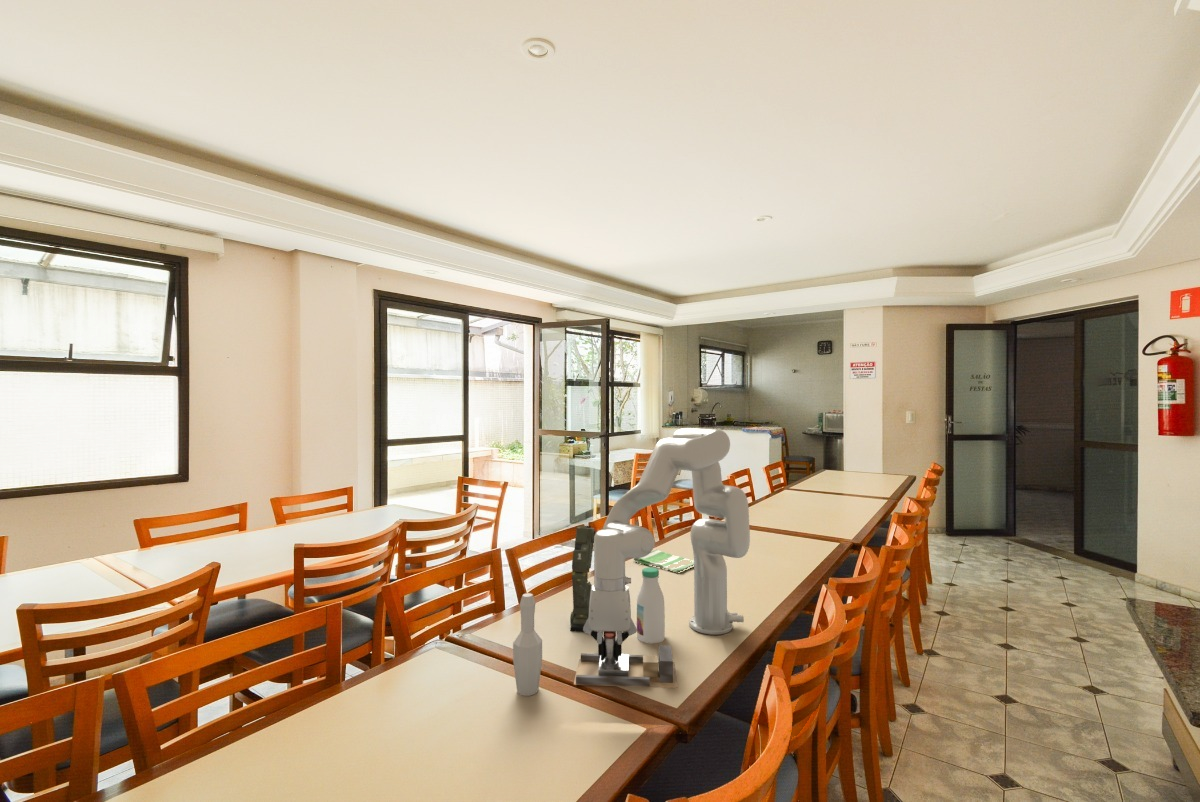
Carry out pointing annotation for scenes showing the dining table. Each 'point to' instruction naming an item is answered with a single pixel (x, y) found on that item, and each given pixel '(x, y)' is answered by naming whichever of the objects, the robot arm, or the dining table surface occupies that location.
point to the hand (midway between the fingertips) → (609, 657)
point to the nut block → (650, 666)
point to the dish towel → (660, 556)
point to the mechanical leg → (581, 576)
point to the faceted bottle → (527, 650)
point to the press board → (666, 672)
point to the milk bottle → (650, 608)
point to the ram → (612, 658)
